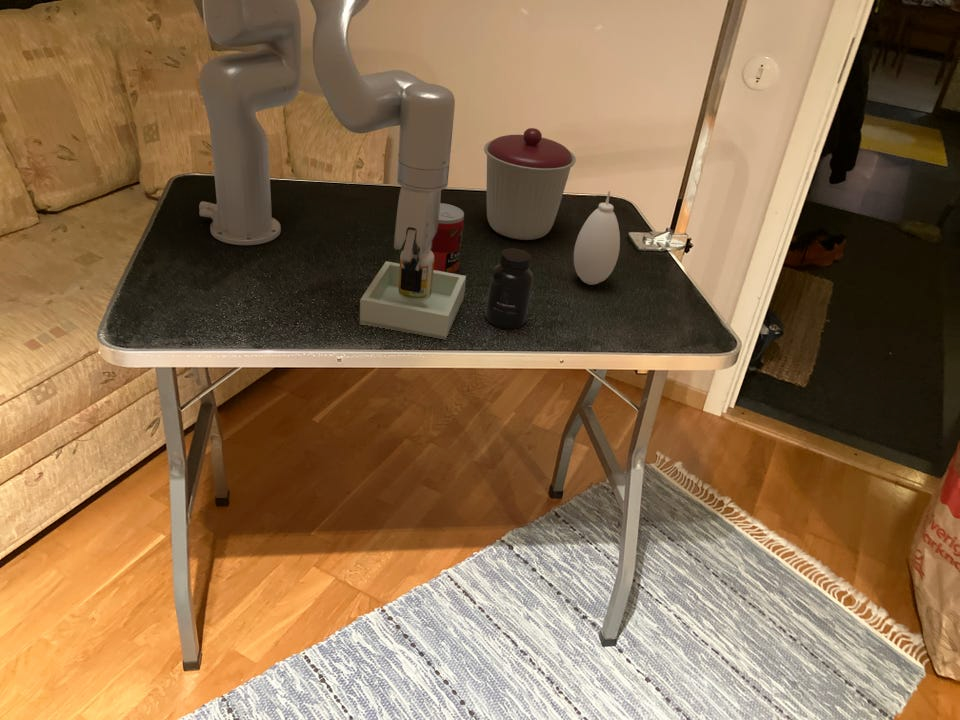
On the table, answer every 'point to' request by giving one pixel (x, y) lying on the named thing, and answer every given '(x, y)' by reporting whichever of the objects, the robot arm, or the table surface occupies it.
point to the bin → (412, 304)
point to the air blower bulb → (597, 245)
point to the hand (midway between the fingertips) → (415, 280)
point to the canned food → (448, 239)
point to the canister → (525, 183)
